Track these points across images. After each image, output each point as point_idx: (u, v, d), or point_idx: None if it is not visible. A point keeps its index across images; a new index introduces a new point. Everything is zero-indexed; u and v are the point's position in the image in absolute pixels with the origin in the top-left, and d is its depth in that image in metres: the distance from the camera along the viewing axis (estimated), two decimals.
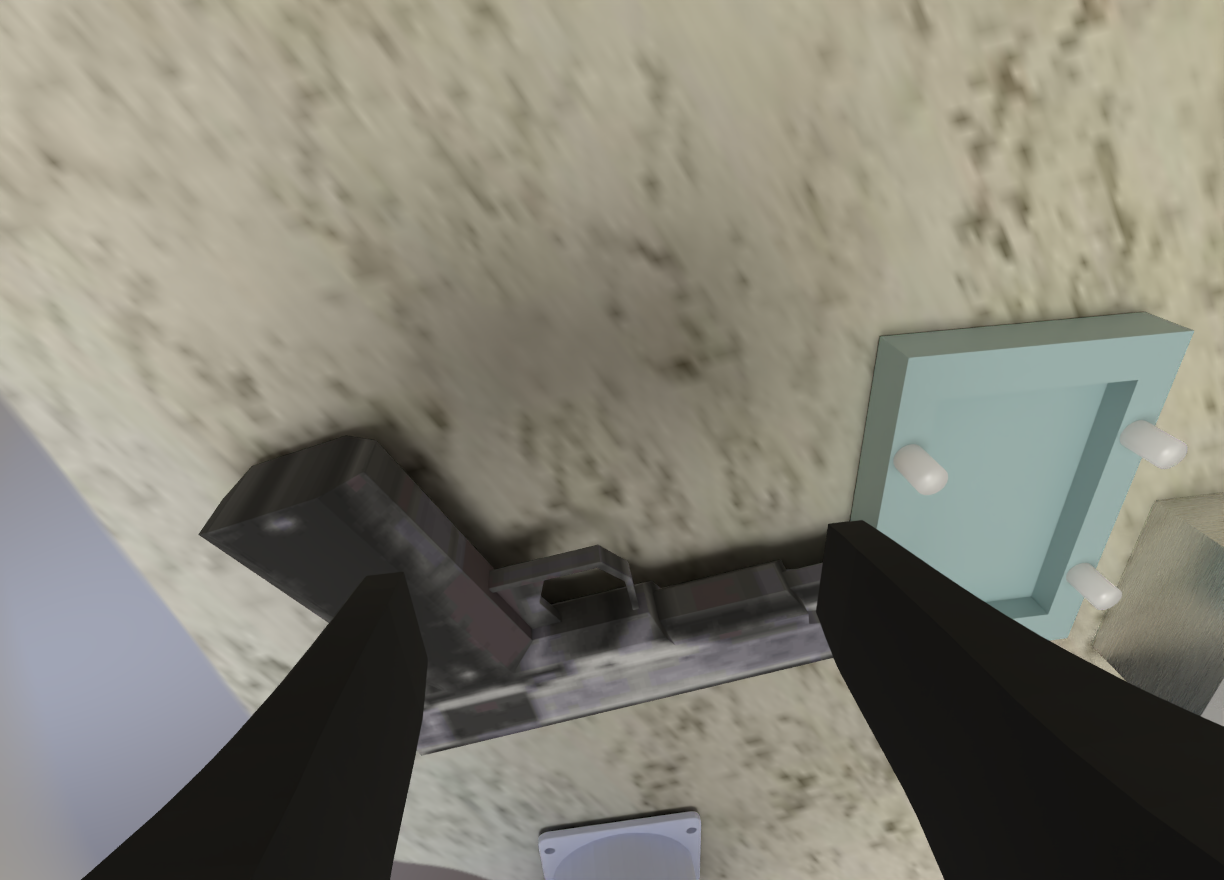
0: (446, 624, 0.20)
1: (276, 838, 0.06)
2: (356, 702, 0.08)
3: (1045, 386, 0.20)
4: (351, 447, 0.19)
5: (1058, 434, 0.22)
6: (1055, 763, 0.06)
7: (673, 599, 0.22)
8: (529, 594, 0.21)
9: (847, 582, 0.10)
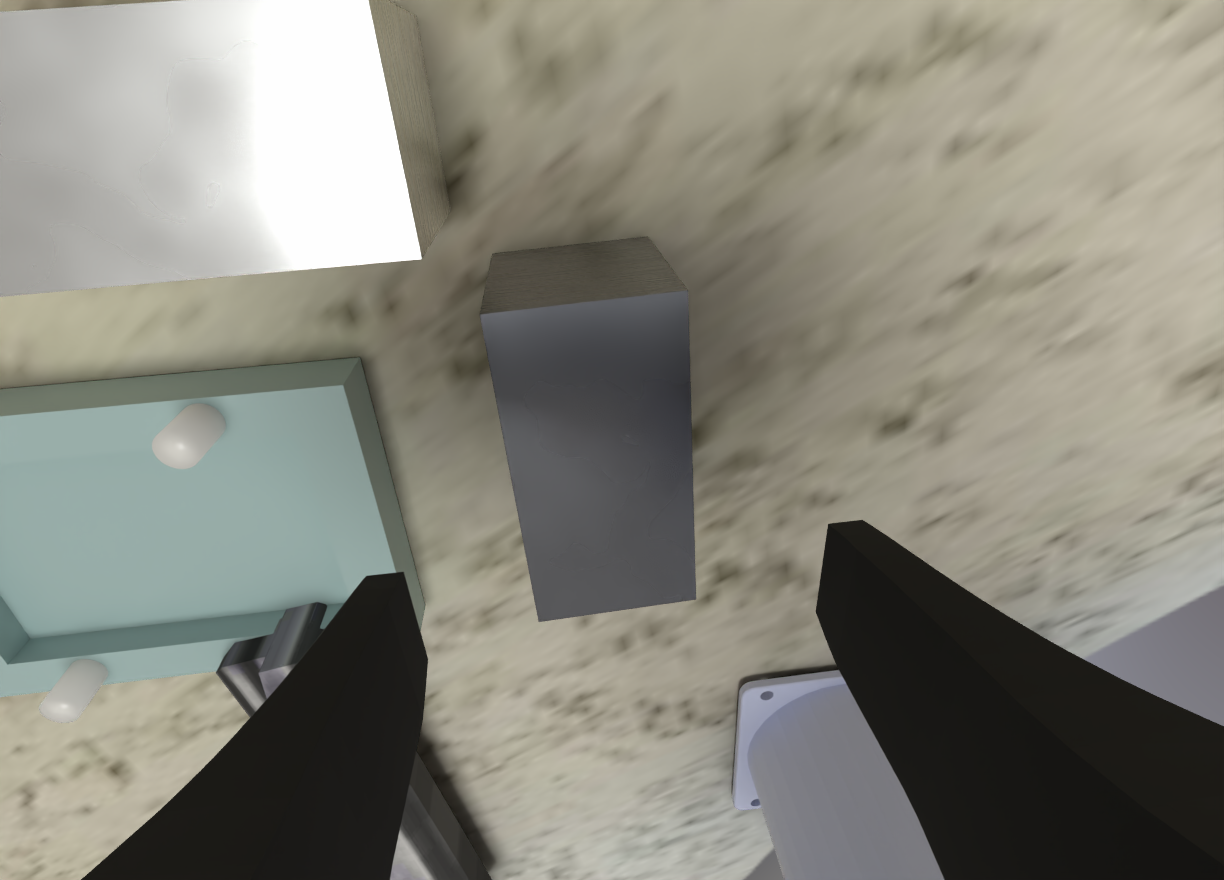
0: None
1: (276, 838, 0.06)
2: (356, 702, 0.08)
3: None
4: None
5: (25, 484, 0.17)
6: (1056, 763, 0.06)
7: None
8: None
9: (847, 582, 0.10)
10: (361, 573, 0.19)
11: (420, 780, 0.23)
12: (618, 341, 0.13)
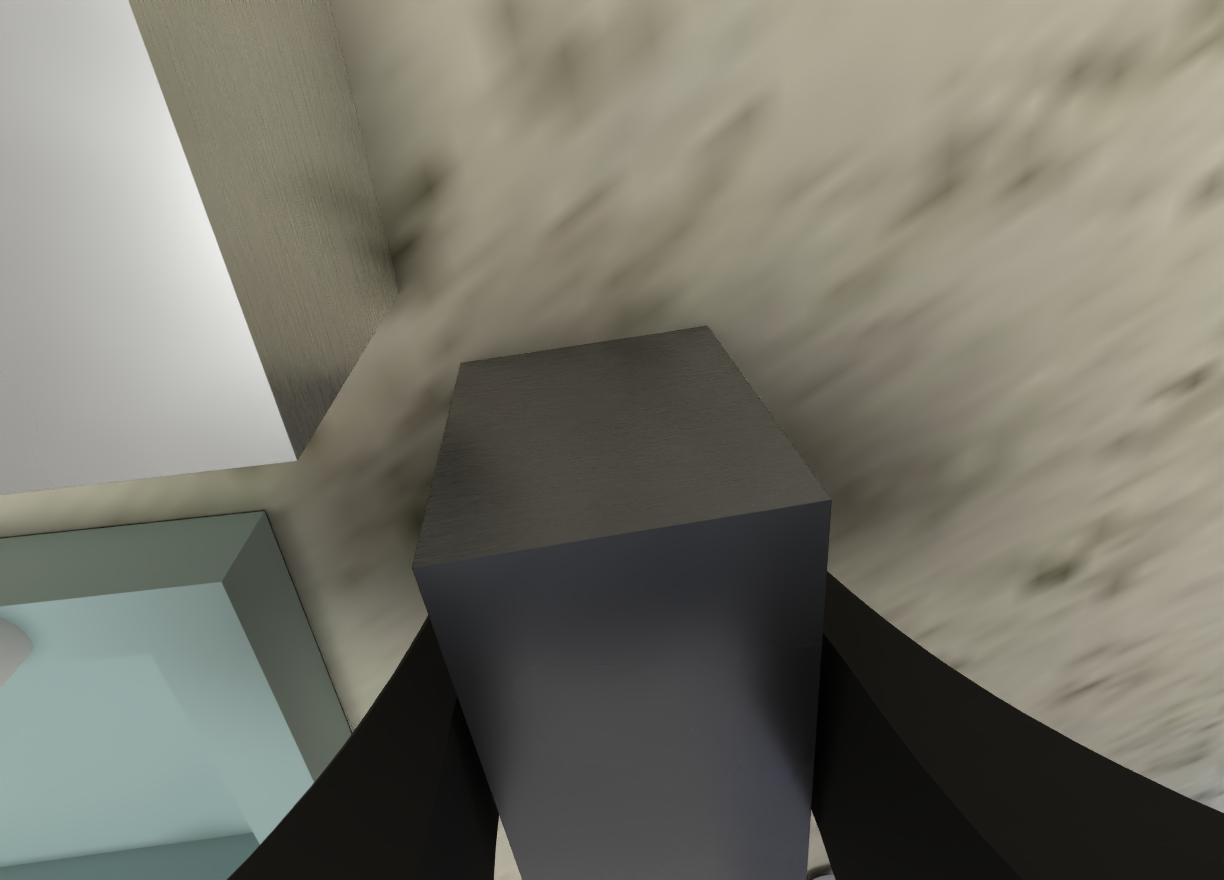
0: None
1: (433, 816, 0.06)
2: None
3: None
4: None
5: None
6: (914, 783, 0.06)
7: None
8: None
9: None
10: (277, 818, 0.12)
11: None
12: (689, 592, 0.07)
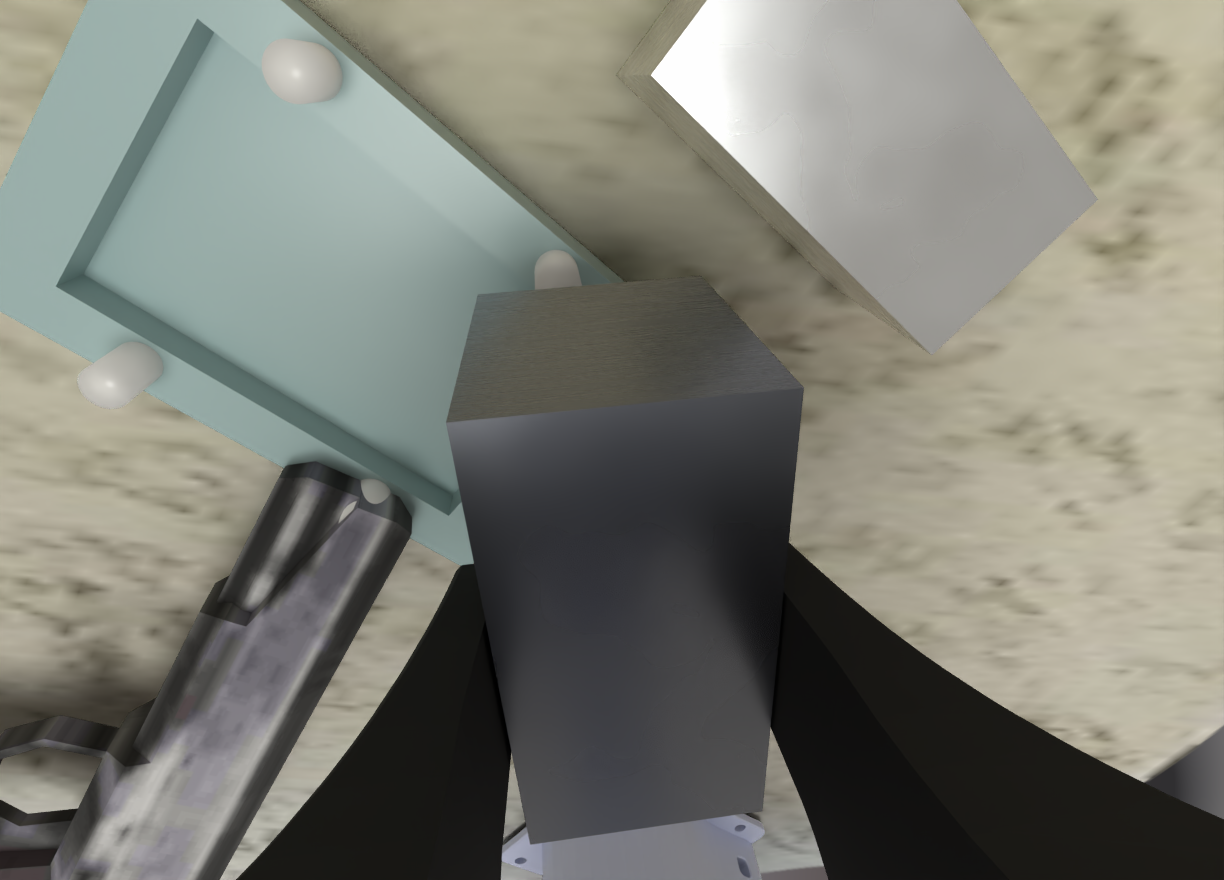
0: None
1: (443, 815, 0.06)
2: (478, 687, 0.08)
3: (120, 152, 0.13)
4: None
5: (301, 156, 0.14)
6: (906, 784, 0.06)
7: None
8: None
9: None
10: None
11: None
12: (679, 466, 0.08)
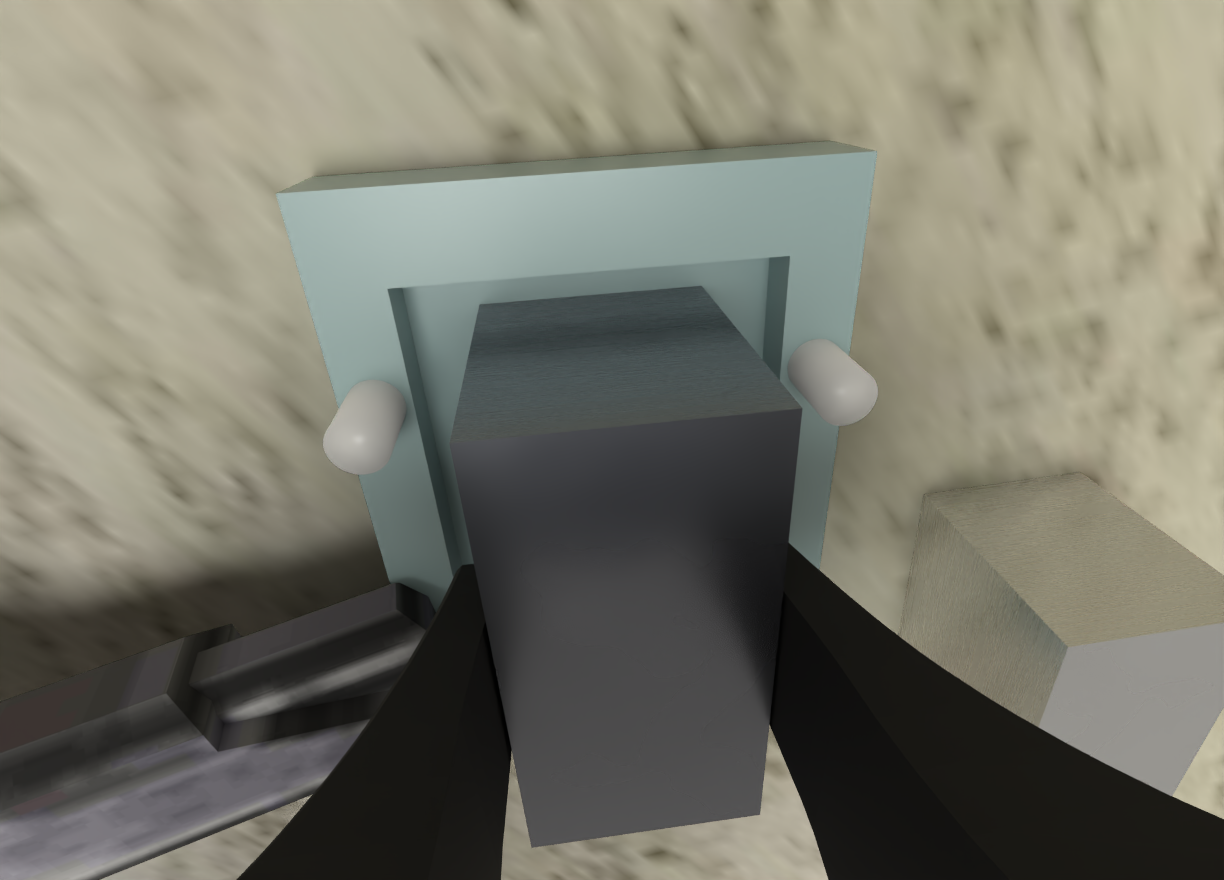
0: None
1: (443, 814, 0.06)
2: (478, 686, 0.08)
3: (602, 265, 0.10)
4: None
5: None
6: (906, 784, 0.06)
7: None
8: None
9: None
10: None
11: None
12: (679, 484, 0.08)
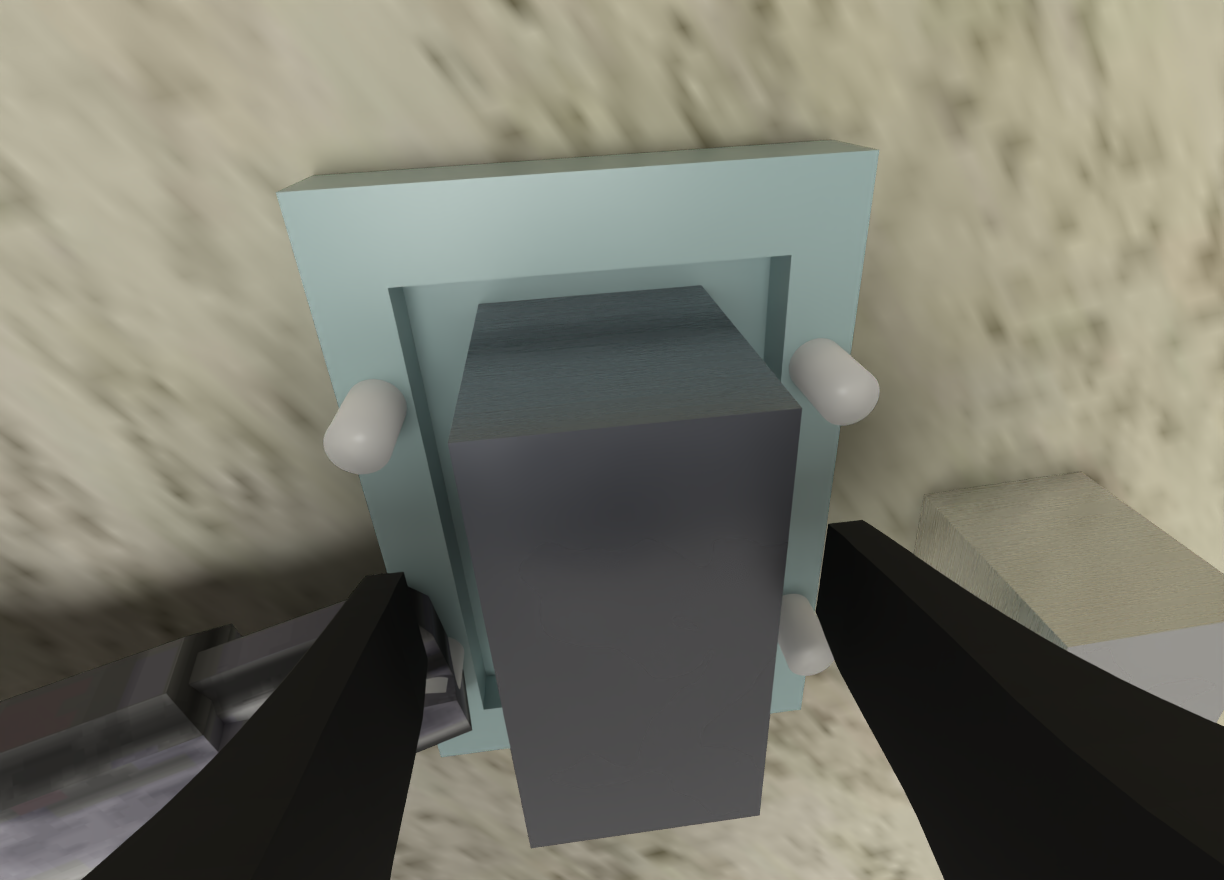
0: None
1: (276, 838, 0.06)
2: (356, 702, 0.08)
3: (603, 264, 0.10)
4: None
5: None
6: (1056, 763, 0.06)
7: None
8: None
9: (847, 582, 0.10)
10: None
11: None
12: (680, 484, 0.08)
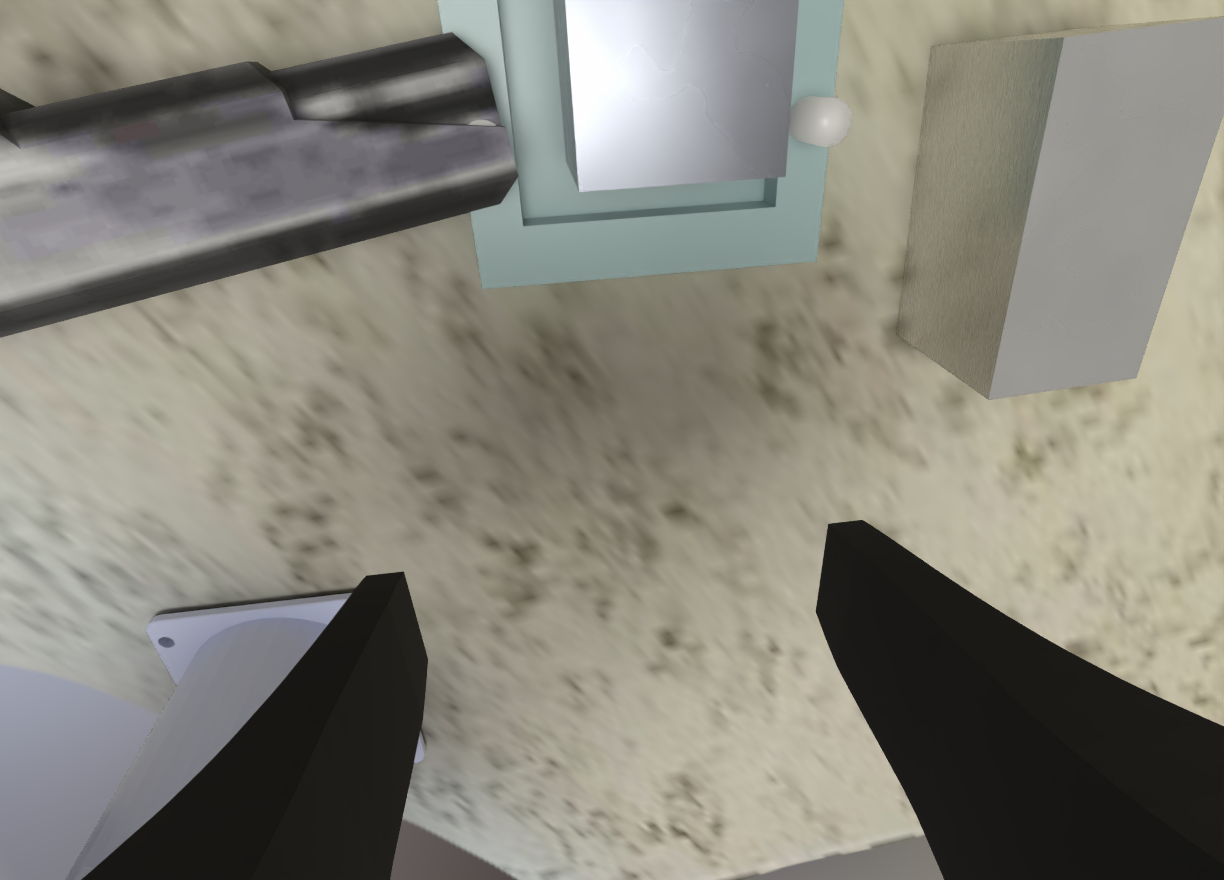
0: None
1: (276, 838, 0.06)
2: (356, 702, 0.08)
3: None
4: None
5: None
6: (1055, 763, 0.06)
7: None
8: None
9: (847, 582, 0.10)
10: (599, 243, 0.17)
11: None
12: None
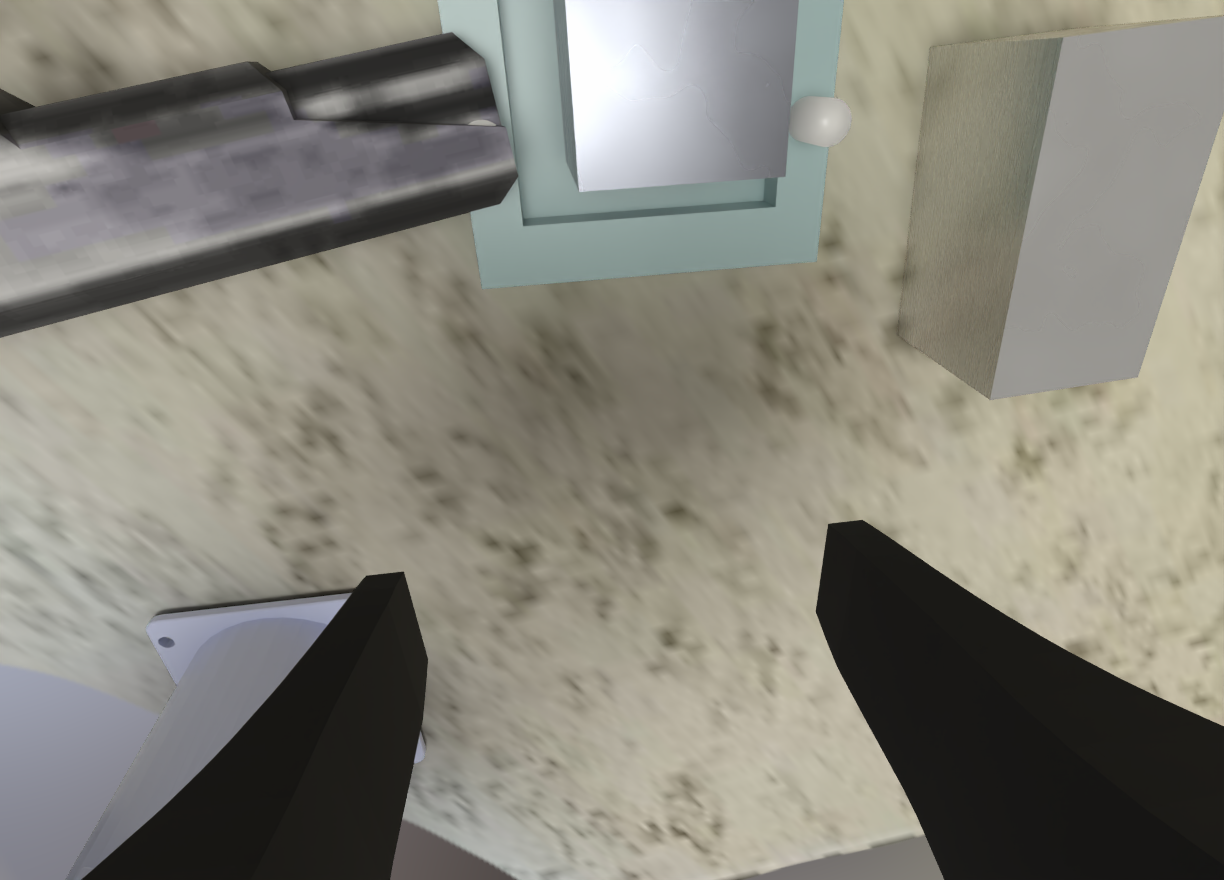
0: None
1: (276, 838, 0.06)
2: (356, 702, 0.08)
3: None
4: None
5: None
6: (1055, 763, 0.06)
7: None
8: None
9: (847, 582, 0.10)
10: (599, 243, 0.17)
11: None
12: None
